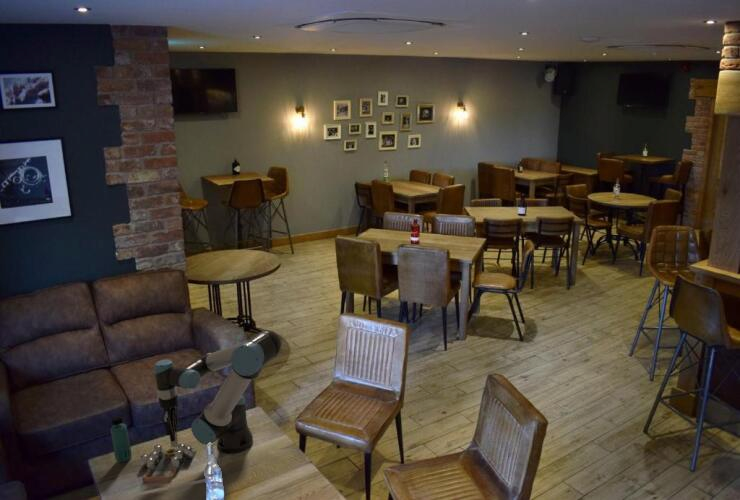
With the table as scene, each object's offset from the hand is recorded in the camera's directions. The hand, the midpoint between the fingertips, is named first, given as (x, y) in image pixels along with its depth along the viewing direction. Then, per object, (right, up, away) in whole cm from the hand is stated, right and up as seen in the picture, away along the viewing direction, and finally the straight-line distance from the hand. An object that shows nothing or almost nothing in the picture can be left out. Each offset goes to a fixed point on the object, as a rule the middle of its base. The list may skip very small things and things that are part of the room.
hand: (174, 446), depth 248 cm
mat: (0, -4, -8) cm, 9 cm away
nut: (0, -3, -6) cm, 6 cm away
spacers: (0, -4, -9) cm, 10 cm away
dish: (0, -7, -18) cm, 19 cm away
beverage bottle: (-20, -5, -5) cm, 21 cm away
